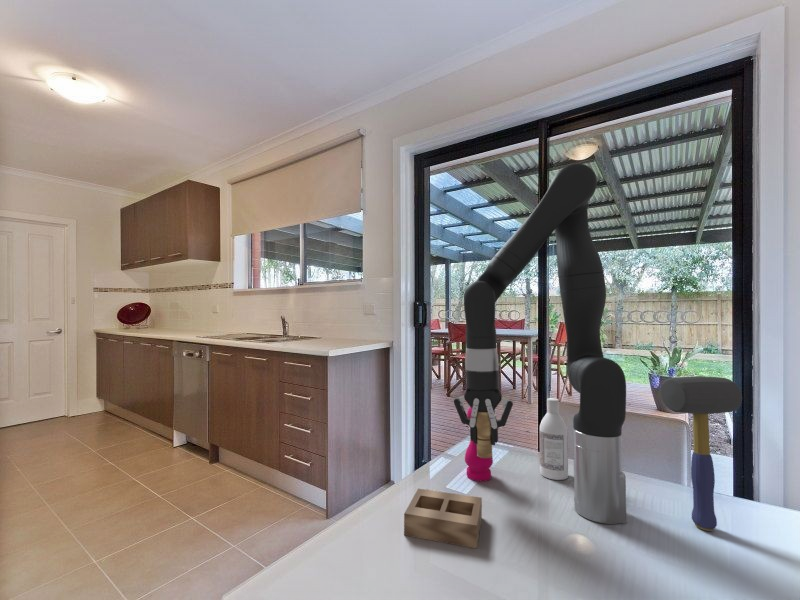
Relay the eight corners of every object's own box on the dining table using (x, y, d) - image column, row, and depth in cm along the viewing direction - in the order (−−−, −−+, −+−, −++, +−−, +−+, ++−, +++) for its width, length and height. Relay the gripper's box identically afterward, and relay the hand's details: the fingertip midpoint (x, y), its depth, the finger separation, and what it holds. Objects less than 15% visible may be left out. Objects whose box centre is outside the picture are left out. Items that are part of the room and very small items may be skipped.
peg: (493, 453, 86) (491, 409, 87) (492, 458, 83) (490, 413, 83) (477, 452, 87) (476, 409, 88) (476, 457, 84) (474, 412, 84)
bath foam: (549, 468, 103) (548, 395, 105) (573, 476, 98) (572, 399, 99) (534, 474, 99) (533, 398, 100) (559, 483, 94) (558, 403, 95)
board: (481, 517, 77) (481, 497, 77) (476, 548, 67) (476, 525, 67) (418, 507, 81) (418, 488, 81) (404, 535, 70) (404, 513, 71)
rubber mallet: (715, 517, 78) (710, 373, 80) (752, 538, 71) (746, 379, 72) (660, 519, 77) (656, 373, 79) (691, 540, 70) (686, 379, 71)
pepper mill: (495, 482, 94) (495, 402, 95) (467, 482, 94) (467, 402, 95) (489, 471, 101) (489, 396, 102) (462, 470, 101) (462, 396, 102)
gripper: (513, 366, 88) (516, 440, 87) (453, 365, 92) (455, 436, 91) (513, 370, 80) (516, 451, 79) (448, 369, 85) (450, 446, 84)
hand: (484, 443), depth 85 cm, fingers closed on peg, 3 cm apart
